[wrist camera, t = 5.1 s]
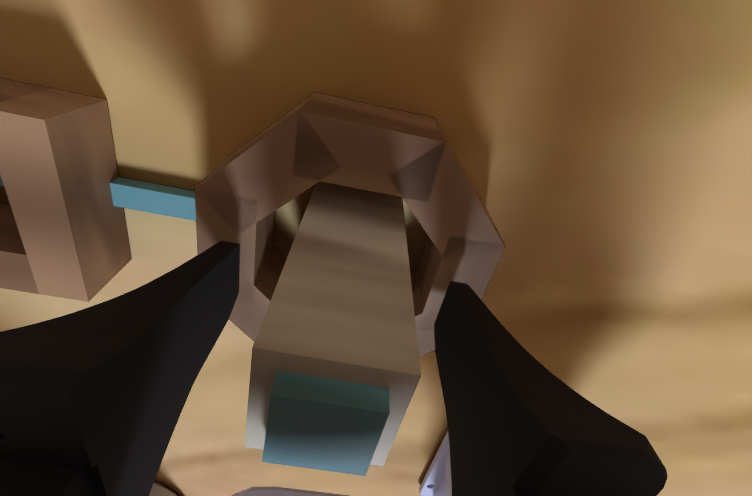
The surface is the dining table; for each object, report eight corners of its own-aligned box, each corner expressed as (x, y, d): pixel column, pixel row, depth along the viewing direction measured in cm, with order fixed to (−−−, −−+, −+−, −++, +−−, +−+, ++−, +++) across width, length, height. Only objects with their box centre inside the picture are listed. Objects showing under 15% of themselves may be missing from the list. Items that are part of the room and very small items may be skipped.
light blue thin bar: (208, 215, 16) (202, 221, 16) (-75, 163, 15) (-91, 169, 15) (207, 193, 16) (202, 200, 15) (-86, 139, 15) (-103, 143, 14)
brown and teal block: (382, 267, 18) (383, 490, 9) (306, 252, 17) (236, 471, 9) (402, 198, 16) (423, 400, 8) (317, 179, 15) (243, 371, 7)
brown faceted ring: (435, 337, 20) (443, 386, 17) (226, 303, 19) (202, 350, 16) (514, 134, 14) (543, 161, 12) (226, 72, 13) (189, 87, 11)
